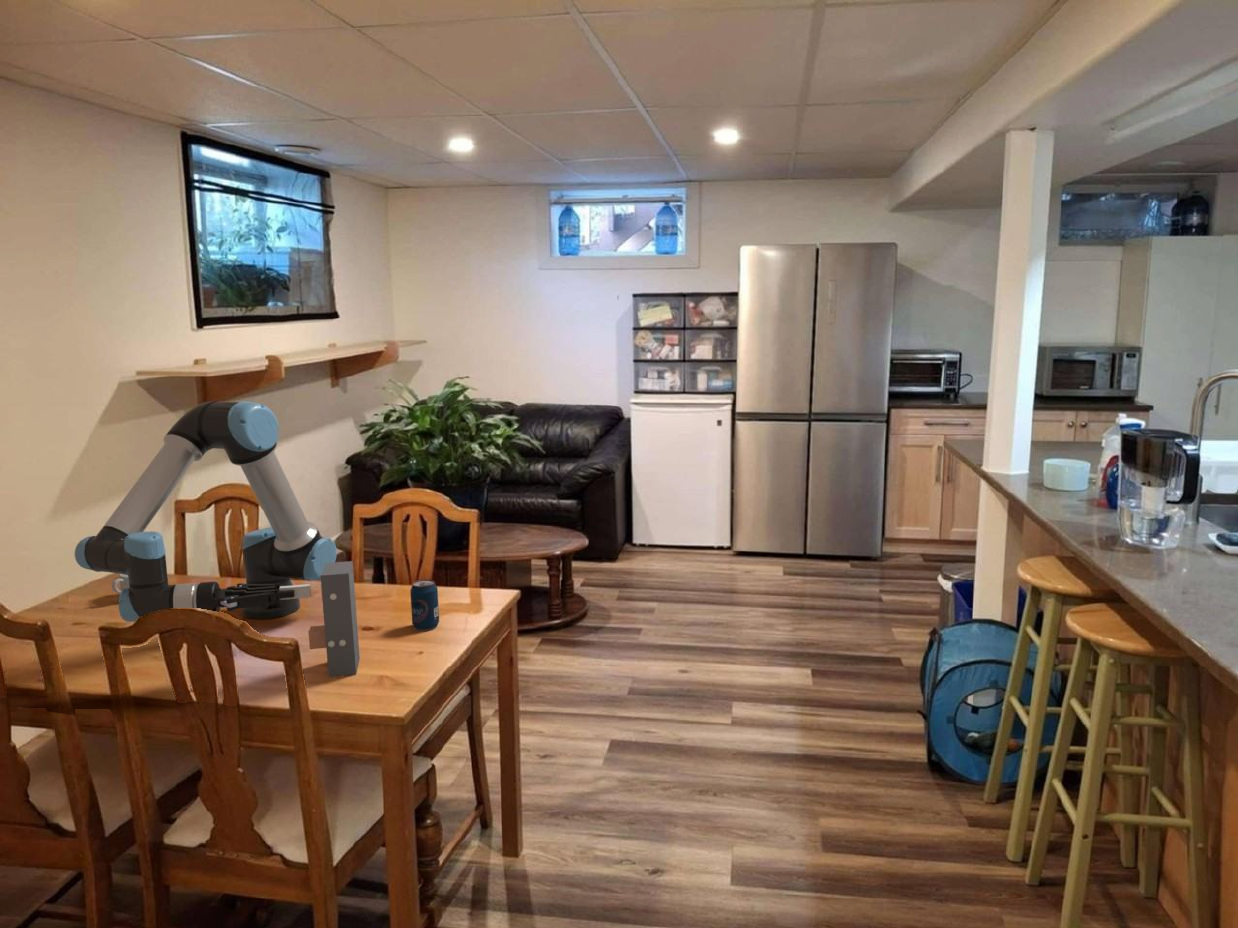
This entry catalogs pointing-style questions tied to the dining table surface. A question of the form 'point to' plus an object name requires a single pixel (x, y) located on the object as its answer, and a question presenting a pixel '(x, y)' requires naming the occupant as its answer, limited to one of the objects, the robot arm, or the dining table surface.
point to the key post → (340, 618)
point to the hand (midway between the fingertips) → (310, 590)
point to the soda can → (424, 605)
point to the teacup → (121, 583)
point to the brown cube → (317, 637)
